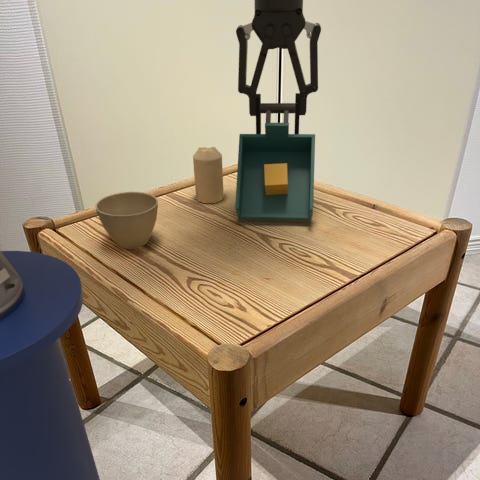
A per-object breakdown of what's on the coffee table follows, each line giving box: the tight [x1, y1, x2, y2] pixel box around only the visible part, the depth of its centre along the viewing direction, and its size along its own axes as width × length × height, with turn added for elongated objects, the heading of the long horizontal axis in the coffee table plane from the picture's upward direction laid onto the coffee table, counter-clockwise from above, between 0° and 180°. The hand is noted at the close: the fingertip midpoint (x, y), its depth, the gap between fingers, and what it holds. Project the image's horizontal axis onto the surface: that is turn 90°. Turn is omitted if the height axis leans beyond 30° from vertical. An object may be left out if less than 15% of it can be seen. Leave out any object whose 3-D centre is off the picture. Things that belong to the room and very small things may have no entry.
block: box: [264, 163, 288, 195], centre depth 91 cm, size 4×4×4 cm
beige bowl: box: [95, 191, 159, 250], centre depth 85 cm, size 10×10×7 cm
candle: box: [192, 146, 224, 204], centre depth 100 cm, size 6×6×10 cm
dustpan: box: [234, 102, 316, 223], centre depth 89 cm, size 18×13×10 cm
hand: (277, 133), depth 92 cm, fingers open, 6 cm apart
